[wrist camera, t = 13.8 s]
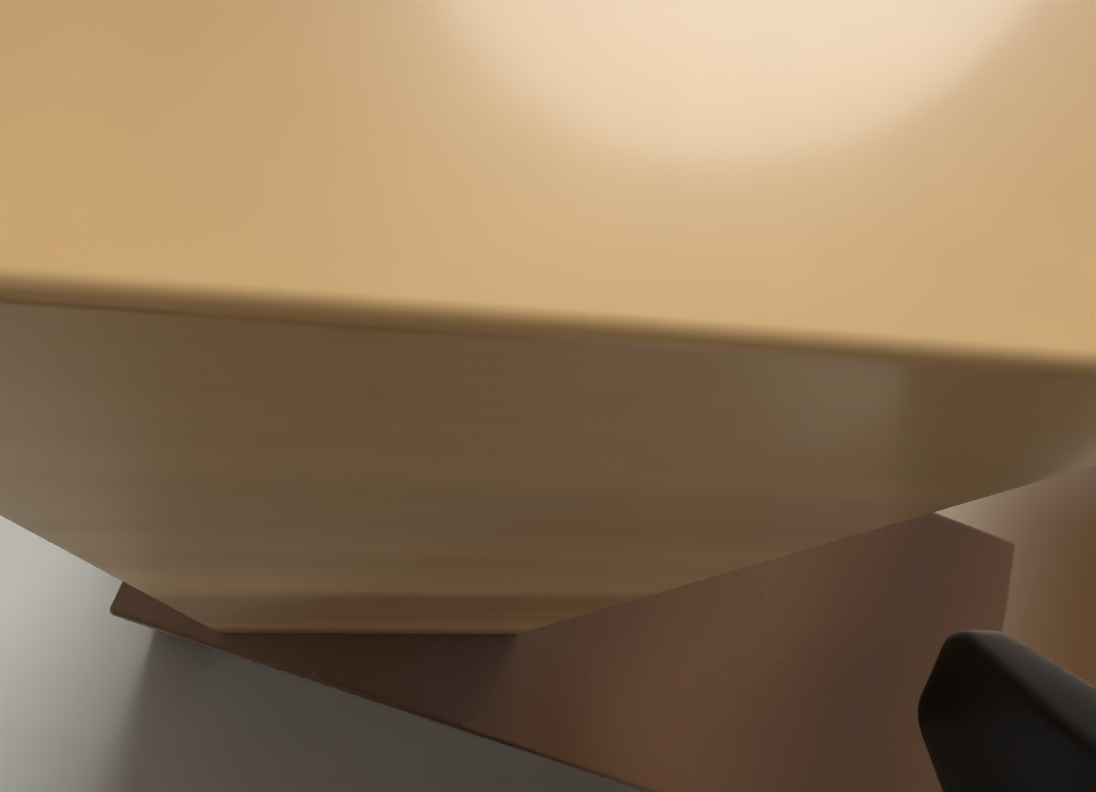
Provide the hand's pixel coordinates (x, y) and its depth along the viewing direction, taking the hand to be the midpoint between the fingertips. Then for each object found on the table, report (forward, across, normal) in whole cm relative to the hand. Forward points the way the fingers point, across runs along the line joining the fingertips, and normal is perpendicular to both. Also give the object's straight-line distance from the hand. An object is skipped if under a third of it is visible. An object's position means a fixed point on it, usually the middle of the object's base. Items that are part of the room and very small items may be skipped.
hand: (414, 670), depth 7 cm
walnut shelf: (+9, -4, +7) cm, 12 cm away
